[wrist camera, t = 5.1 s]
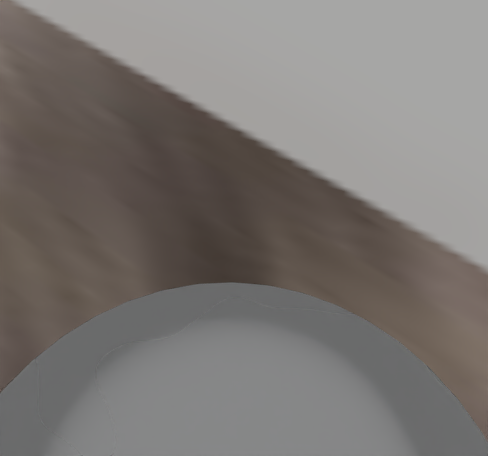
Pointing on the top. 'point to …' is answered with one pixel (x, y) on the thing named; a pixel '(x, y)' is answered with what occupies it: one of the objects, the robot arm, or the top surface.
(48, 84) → the top surface
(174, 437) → the metal tumbler
